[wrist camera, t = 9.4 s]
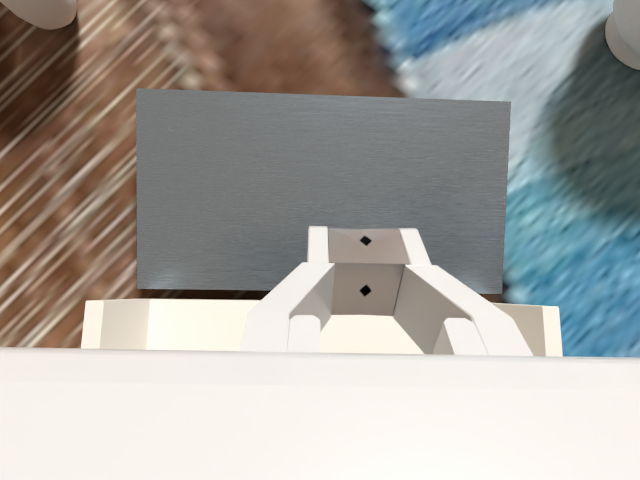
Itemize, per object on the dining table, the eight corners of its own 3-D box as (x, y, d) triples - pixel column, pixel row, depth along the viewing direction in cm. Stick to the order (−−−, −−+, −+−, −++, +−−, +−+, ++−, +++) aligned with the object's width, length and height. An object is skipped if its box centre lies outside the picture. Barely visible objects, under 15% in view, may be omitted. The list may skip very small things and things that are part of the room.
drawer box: (501, 608, 22) (595, 757, 15) (125, 617, 21) (35, 781, 14) (485, 302, 24) (558, 306, 17) (150, 298, 23) (85, 300, 16)
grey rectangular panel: (501, 293, 22) (510, 102, 22) (137, 288, 21) (136, 88, 21) (483, 287, 24) (491, 113, 24) (152, 282, 23) (152, 101, 23)
